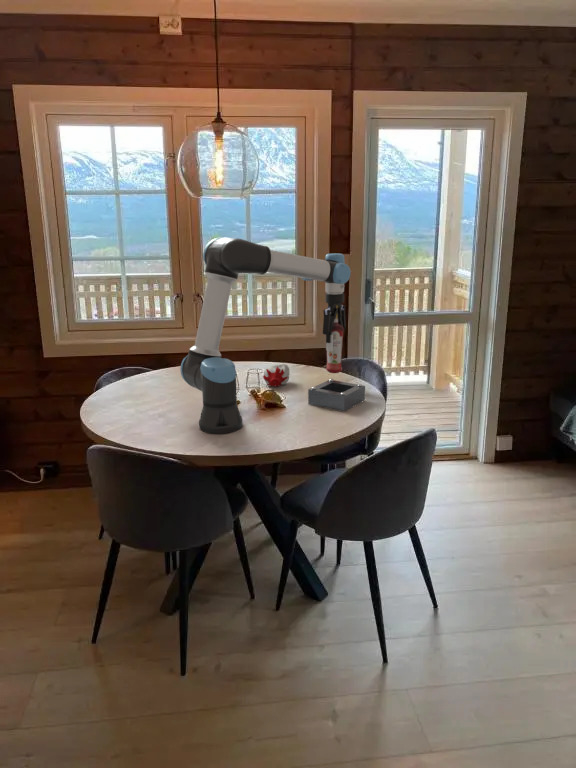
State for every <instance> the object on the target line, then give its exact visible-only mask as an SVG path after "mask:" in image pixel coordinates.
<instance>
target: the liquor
mask: <svg viewBox="0 0 576 768" xmlns="http://www.w3.org/2000/svg"><path fill="white" fill-rule="evenodd" d="M336 308H338V305H337V306H336ZM343 328H344V327H343V326H341V325H340V324H338V314H337V315H336V319H334V324H333V330H332V334H331V335H333V351H328V350H326V367H325V370H326V371H327V372H328V373H329V374H340V372H342V370H343V367H342V358H343V357H342V355H343V345H342V344H343V341H344V331H343Z"/></svg>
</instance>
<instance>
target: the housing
mask: <svg viewBox="0 0 576 768" xmlns="http://www.w3.org/2000/svg"><path fill="white" fill-rule="evenodd" d="M307 392H308V393H307V396H308V397H307V398H308V400H307V401H308V402H307V403H308V405H310V406H314V407H315V406H316V407H320V408H325V409H330V410H333V411H334V410H335V411H339V412H343V411H345V412H347V411H348V410H351V408H353V406H354V407H356V406H357V405H359V404H361V403H363V402H365V401H366V385H364V384H361V383H357V384H356V383H352V382H346V381H340V380H334V379H333V378H330V379H328V380H327V381H324V382H322V383H321V382H320V383H318V384H317V385H314V386H312V387H310V388H308V390H307ZM364 400H365V401H364ZM362 401H363V402H362ZM355 405H356V406H355Z"/></svg>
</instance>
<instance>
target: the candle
mask: <svg viewBox="0 0 576 768" xmlns="http://www.w3.org/2000/svg"><path fill="white" fill-rule="evenodd" d="M262 378H263V381H264V382H265V383H266V385H267V386H269V387H277V388H278V387H280V386H282V385H283V386H286V385H287V383H288V382H289V380H290V367H289V366H288V365H287V364H285V363H281V364H272V365H270V366H269V367H267V368H265V369H264V371H263V375H262Z"/></svg>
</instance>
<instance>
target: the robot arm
mask: <svg viewBox="0 0 576 768" xmlns="http://www.w3.org/2000/svg"><path fill="white" fill-rule="evenodd" d="M204 247H205V248H204V249H203V253H202V256H203V257H202V258H203V261H204V263H205V270H204V274H205V275H206V278H207V283H206V287H205V292H204V297H203V301H202V307H201V311H200V315H199V317H200V318H199V322H198V327H197V332H196V337H195V341H194V345H193V346H191V347H189V349H188V354H187V355H186V356H185V357H183V359H182V361H181V364H180V370H179V371H180V375H181V377H182V379H183V380H184V381H185V383H186V384H188V385H189V386H190V387H192V388H195V389H197V390H199V391H200V392H202V393H201V394H202V395H201V396H202V409H201V413H200V416H199V417H200V418H199V420H198V426H199V427H198V428H199V430H200V431H202V432H203V433H206V434H212V435H213V434H215V435H223V434H230V433H234V432H237V431H240V430H241V429H242V428H243V426H244V424H243V423H244V422H243V420H244V419H243V417H242V416H241V413H240V410H239V407H238V401H237V399H238V398H237V396H238V395H237V371H236V365H235V363H234V362H233V361H232V360H230V359H228V358H225V357H224V358H222V354H221V352H220V350H219V347H220V342H221V338H222V333H223V330H224V323H225V320H226V315H227V314H226V313H227V310H228V304H229V299H230V297H231V296H230V295H231V290H232V286H233V284H234V283H235V282H237V281H238V278H239V274H244V275H245V274H255V275H265V274H268V273H269V274H275V275H282V276H288V277H295V278H300V279H301V280H303V281H307V282H311V281H318V282H325V287H324V292H325V295H324V296H325V299H324V300H325V303H326V304H327V309H325V308H324V309H323V323H322V325H323V326H322V334H323V335H325V350H326V351H327V350H328V351H333V335H331V334H332V330H333V324H334V319H336V315H337V314H338V324H340V325H341V326H343V327H344V328H343V332H346V328H347V321H346V307H347V306H346V305H343V304H344V303H345V293H344V292H345V284H346V283H347V282H348V281H349V280H350V277H351V274H352V273H351V268H350V266H349V265H348V264H346V262H345V255H344V254H343V253H326V255H325V259H319V258H313V257H309V256H304V255H300V254H299V255H298V254H293V253H289V252H288V253H287V252H284V251H283V252H282V251H277V250H271V248H270V247H269V246H268V245H263V244H258V243H255V242H251V241H249V240H246V239H242V238H233V237H224V236H223V237H215V238H213V239H211V240H210V241H209V242H207V244H206V245H205V246H204ZM337 305H338V308H336V306H337ZM342 346H343V344H342Z"/></svg>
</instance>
